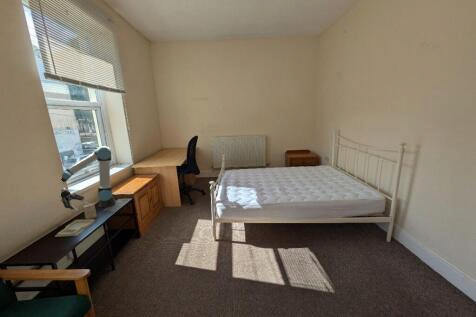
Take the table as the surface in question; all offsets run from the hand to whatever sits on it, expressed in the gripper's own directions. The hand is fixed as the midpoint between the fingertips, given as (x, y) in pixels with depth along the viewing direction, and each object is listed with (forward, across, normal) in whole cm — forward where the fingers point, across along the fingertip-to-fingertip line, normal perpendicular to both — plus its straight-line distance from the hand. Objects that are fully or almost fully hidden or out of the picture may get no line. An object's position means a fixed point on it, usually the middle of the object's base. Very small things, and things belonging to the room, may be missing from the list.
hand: (82, 207), depth 185 cm
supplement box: (+12, -1, -4) cm, 13 cm away
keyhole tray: (+12, +18, -3) cm, 22 cm away
